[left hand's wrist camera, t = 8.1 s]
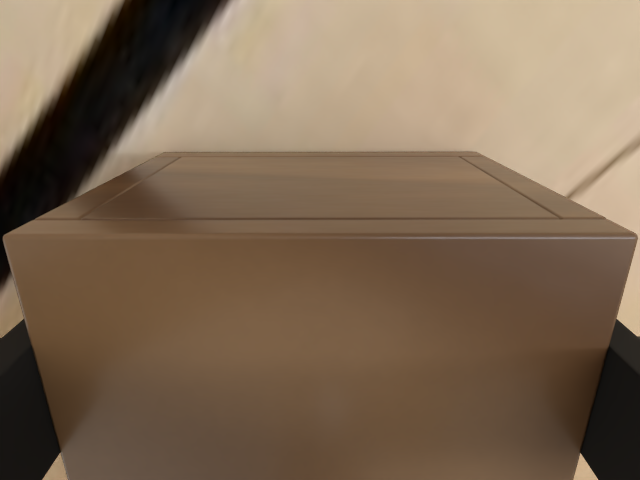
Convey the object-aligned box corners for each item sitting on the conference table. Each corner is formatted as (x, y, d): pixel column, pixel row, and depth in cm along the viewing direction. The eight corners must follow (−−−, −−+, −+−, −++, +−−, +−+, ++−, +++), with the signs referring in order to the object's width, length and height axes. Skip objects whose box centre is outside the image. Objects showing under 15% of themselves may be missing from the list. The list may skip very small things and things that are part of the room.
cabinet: (430, 533, 23) (491, 788, 15) (211, 533, 23) (150, 788, 15) (477, 151, 16) (641, 234, 8) (162, 151, 16) (-2, 235, 8)
